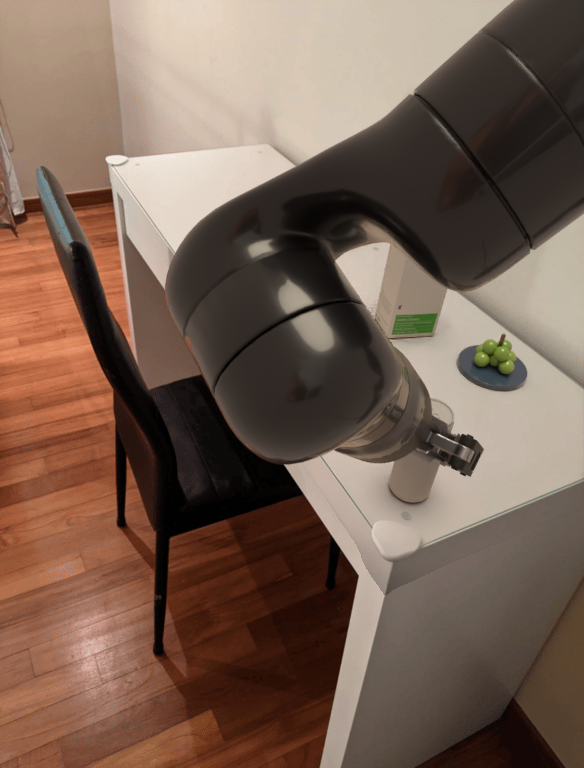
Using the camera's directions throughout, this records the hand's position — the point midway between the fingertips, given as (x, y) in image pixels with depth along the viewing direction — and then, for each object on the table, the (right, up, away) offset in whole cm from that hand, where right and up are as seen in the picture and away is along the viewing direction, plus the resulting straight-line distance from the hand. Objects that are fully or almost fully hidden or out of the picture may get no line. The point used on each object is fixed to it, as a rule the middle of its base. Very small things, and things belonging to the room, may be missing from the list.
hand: (404, 431), depth 55 cm
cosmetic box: (+8, +13, +42) cm, 45 cm away
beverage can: (+3, -8, +16) cm, 18 cm away
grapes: (+19, +6, +35) cm, 40 cm away
